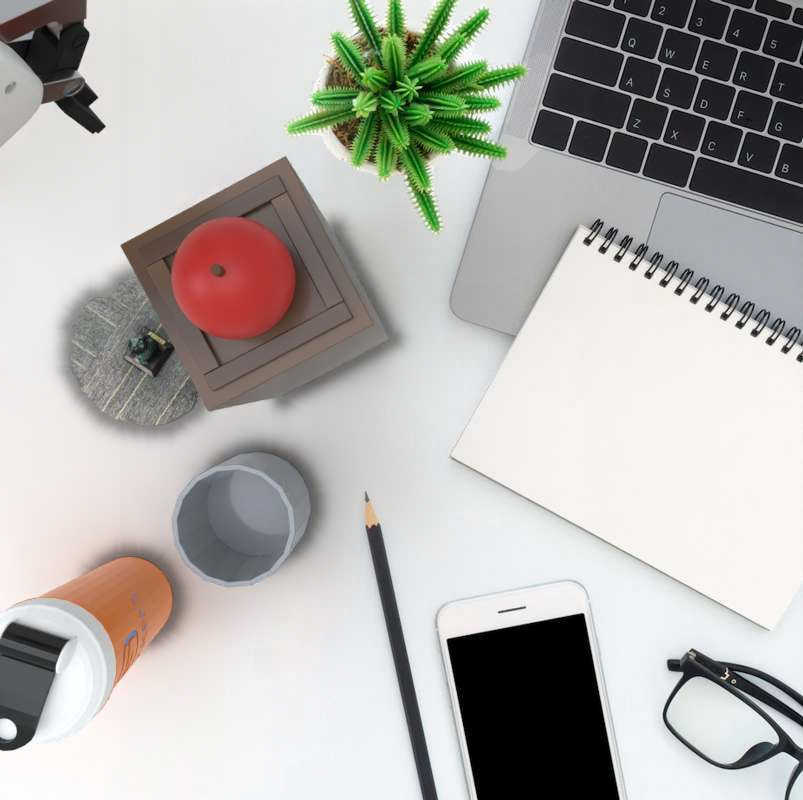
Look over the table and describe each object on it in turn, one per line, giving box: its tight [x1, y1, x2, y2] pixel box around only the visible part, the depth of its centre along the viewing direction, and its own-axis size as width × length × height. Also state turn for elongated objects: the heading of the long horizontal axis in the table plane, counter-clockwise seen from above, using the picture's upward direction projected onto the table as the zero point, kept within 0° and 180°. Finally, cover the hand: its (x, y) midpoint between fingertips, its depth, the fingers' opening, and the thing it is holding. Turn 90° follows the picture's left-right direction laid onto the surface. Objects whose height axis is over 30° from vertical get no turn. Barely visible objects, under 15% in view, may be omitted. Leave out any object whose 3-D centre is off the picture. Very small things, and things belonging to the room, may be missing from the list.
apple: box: [171, 217, 295, 340], centre depth 41 cm, size 6×6×7 cm
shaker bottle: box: [0, 556, 173, 752], centre depth 60 cm, size 9×9×20 cm
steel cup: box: [171, 451, 312, 588], centre depth 65 cm, size 9×9×9 cm
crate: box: [119, 155, 390, 412], centre depth 56 cm, size 10×10×24 cm
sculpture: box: [70, 277, 198, 426], centre depth 69 cm, size 12×9×8 cm
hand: (6, 174), depth 40 cm, fingers open, 9 cm apart
